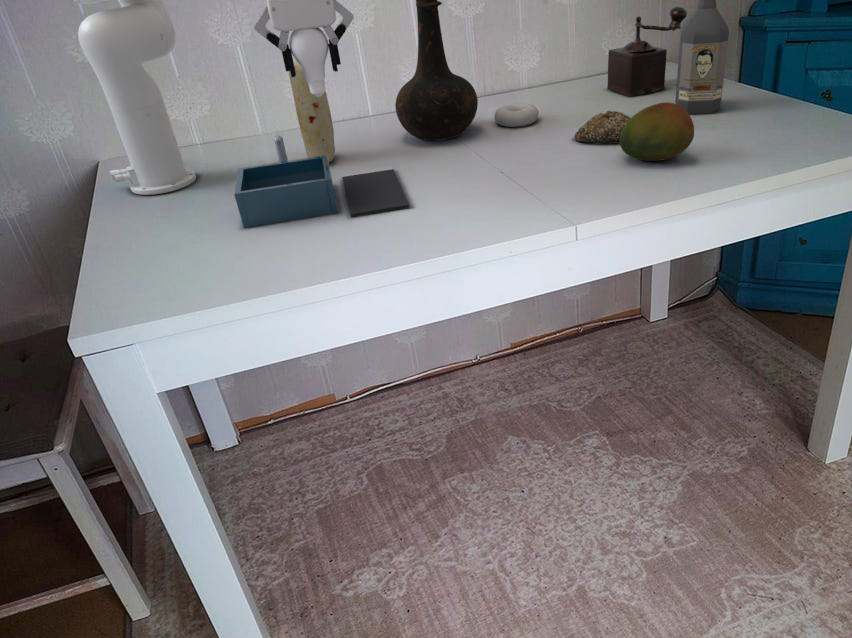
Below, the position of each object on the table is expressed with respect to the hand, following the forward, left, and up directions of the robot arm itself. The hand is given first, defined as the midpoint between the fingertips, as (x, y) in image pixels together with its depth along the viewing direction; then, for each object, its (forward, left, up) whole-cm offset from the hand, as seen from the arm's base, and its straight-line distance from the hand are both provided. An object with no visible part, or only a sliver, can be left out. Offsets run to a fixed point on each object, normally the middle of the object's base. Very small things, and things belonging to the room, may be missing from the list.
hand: (314, 71), depth 114 cm
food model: (-2, +24, -22) cm, 33 cm away
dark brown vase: (+24, +30, -22) cm, 44 cm away
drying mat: (+6, 0, -22) cm, 23 cm away
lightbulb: (0, 0, -4) cm, 4 cm away
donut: (+42, +31, -22) cm, 57 cm away
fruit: (+58, -6, -22) cm, 63 cm away
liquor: (+81, +21, -22) cm, 87 cm away
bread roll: (+56, +12, -22) cm, 62 cm away
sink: (-9, +1, -22) cm, 23 cm away
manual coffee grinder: (+79, +44, -22) cm, 93 cm away
